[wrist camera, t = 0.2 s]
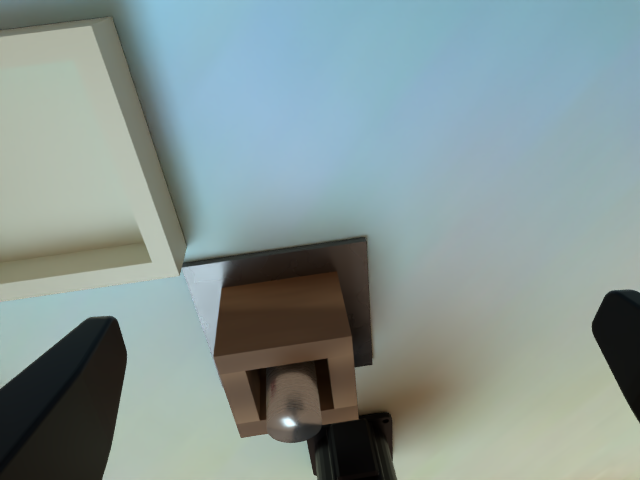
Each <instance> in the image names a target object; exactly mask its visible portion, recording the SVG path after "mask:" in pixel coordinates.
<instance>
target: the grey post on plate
mask: <svg viewBox="0 0 640 480" xmlns="http://www.w3.org/2000/svg"><path fill="white" fill-rule="evenodd" d="M182 271H183V274H184V277H185V279H186V282H187V285H188V288H189V291H190V294H191V297H192V300H193V303H194V305H195V308H196V311H197V314H198V317H199V320H200V323H201V326H202V329H203V332H204V334H205V337H206V340H207V343H208V346H209V349H210V352H211V355H212V358H213V354H214V346H215V338H216V329H217V321H218V313H219V305H220V296H221V288H225V287H232V286H239V285H246V284H253V283H260V282H267V281H274V280H280V279H287V278H294V277H301V276H308V275H315V274H322V273H329V272H335V271H337V274H338V278H339V282H340V287H341V291H342V295H343V300H344V304H345V308H346V313H347V317H348V322H349V326H350V330H351V335H352V344H353V356H354V367H360V366H367V365H372V347H371V326H370V305H369V284H368V263H367V243H366V239H365V237H363V238H356V239H349V240H342V241H335V242H328V243H321V244H314V245H307V246H300V247H293V248H286V249H279V250H272V251H265V252H258V253H251V254H244V255H237V256H230V257H223V258H216V259H209V260H202V261H195V262H188V263H183V264H182ZM213 360H214V358H213ZM214 363H215V361H214ZM215 366H216V364H215ZM216 369H217V367H216ZM217 372H218V370H217ZM218 375H219V373H218ZM219 378H220V376H219ZM220 381H221V378H220ZM221 384H222V381H221ZM222 387H223V384H222ZM266 415H267V432H268V434H269V435H270V436H271V437H272V438H274V439H275V440H278V441H281V442H286V443H295V442H301V441H305V440H308V439H310V438H312V437H313V436H315V435H316V434H317V433H318V432H319V431H320V429H321V427H322V418H321V410H320V402H319V394H318V386H317V378H316V370H315V362H314V360H313V361H306V362H300V363H293V364H287V365H280V366H273V367H267V368H266Z"/></svg>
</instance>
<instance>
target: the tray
mask: <svg viewBox="0 0 640 480" xmlns="http://www.w3.org/2000/svg"><path fill="white" fill-rule="evenodd" d="M186 249H187V246H186V242H185V239H184V236H183V233H182V230H181V227H180V224H179V221H178V218H177V215H176V212H175V209H174V206H173V203H172V200H171V196H170V193H169V190H168V187H167V184H166V181H165V178H164V175H163V172H162V169H161V166H160V163H159V160H158V157H157V153H156V150H155V147H154V144H153V141H152V138H151V135H150V132H149V129H148V126H147V123H146V120H145V117H144V114H143V111H142V107H141V104H140V101H139V98H138V95H137V92H136V89H135V86H134V83H133V80H132V77H131V74H130V71H129V68H128V64H127V61H126V58H125V55H124V52H123V49H122V46H121V43H120V40H119V37H118V34H117V31H116V28H115V25H114V22H113V18H112V16H111V17H103V18H95V19H87V20H79V21H70V22H62V23H54V24H46V25H38V26H30V27H22V28H13V29H5V30H0V302H3V301H10V300H17V299H24V298H30V297H37V296H44V295H51V294H58V293H65V292H72V291H79V290H86V289H93V288H100V287H107V286H114V285H121V284H128V283H135V282H142V281H148V280H155V279H162V278H169V277H176V276H180V272H181V268H182V264H183V260H184V256H185V253H186Z"/></svg>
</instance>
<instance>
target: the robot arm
mask: <svg viewBox="0 0 640 480" xmlns="http://www.w3.org/2000/svg"><path fill="white" fill-rule="evenodd" d="M592 332H593V335H594V337H595V339H596V341H597V343H598V345H599V347H600V349H601V351H602V353H603V355H604V357H605V359H606V361H607V363H608V365H609V367H610V369H611V371H612V373H613V375H614V377H615V379H616V381H617V383H618V385H619V387H620V389H621V391H622V393H623V395H624V397H625V399H626V400H627V402H628V404H629V406H630V408H631V410H632V411H633V413H634V415H635V416H636V418H637V420H638V421H639V423H640V293H639V292H637V291H634V290H614V291H610V292H609V293H607V294H606V295H605V297H604V299H603V301H602V303H601V305H600V307H599V309H598V311H597V313H596V315H595V318H594V320H593V322H592ZM126 364H127V351H126V347H125V344H124V340H123V337H122V334H121V330H120V327H119V324H118V321H117V319H116V318H115V317H113V316H100V317H90V318H88V319H86V320H85V321H83V322H82V323H81V324H80V325H78V326H77V327H76V328H75V329H74V330H72V331H71V332H70V333H69V334H67V335H66V336H65V337H64V338H62V339H61V340H60V341H59V342H58V343H56V344H55V345H54V346H53V347H51V348H50V349H49V350H48V351H46V352H45V353H44V354H43V355H42V356H40V357H39V358H38V359H37V360H35V361H34V362H33V363H32V364H30V365H29V366H28V367H27V368H26V369H24V370H23V371H22V372H21V373H19V374H18V375H17V376H16V377H14V378H13V379H12V380H11V381H10V382H8V383H7V384H6V385H5V386H3V387H2V388H1V389H0V480H102V478H103V474H104V471H105V468H106V464H107V461H108V457H109V453H110V450H111V445H112V440H113V435H114V430H115V425H116V419H117V414H118V408H119V403H120V397H121V391H122V386H123V380H124V375H125V369H126ZM307 444H308V449H309V454H310V459H311V464H312V469H313V474H314V475H316V476H317V480H397V477H396V473H395V470H394V466H393V462H392V461H393V449H392V418H391V415H390V414H389V413H379V414H372V415H366V416H359V419H358V420H351V421H345V422H339V423H332V424H326V425H322V427H321V429H320V431H319V432H318V433H317V434H316V435H315V436H313V437H312V438H310V439H308V440H307Z"/></svg>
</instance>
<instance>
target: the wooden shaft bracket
mask: <svg viewBox="0 0 640 480" xmlns="http://www.w3.org/2000/svg"><path fill="white" fill-rule="evenodd" d="M213 358H214V361H215V364H216V367H217V370H218V373H219V376H220V378H221V381H222V384H223V387H224V390H225V393H226V396H227V399H228V402H229V405H230V408H231V410H232V413H233V416H234V419H235V422H236V425H237V428H238V431H239V434H240V437H241V438H243V437H250V436H256V435H262V434H268V432H267V415H266V368H267V367H273V366H280V365H287V364H293V363H300V362H306V361H313V360H314V362H315V370H316V378H317V386H318V394H319V402H320V410H321V418H322V425H326V424H332V423H339V422H345V421H351V420H358V419H359V417H358V405H357V393H356V380H355V368H354V356H353V344H352V335H351V330H350V326H349V322H348V317H347V313H346V308H345V304H344V300H343V295H342V291H341V287H340V282H339V278H338V274H337V271H335V272H329V273H322V274H315V275H308V276H301V277H294V278H287V279H280V280H274V281H267V282H260V283H253V284H246V285H239V286H232V287H225V288H221V296H220V305H219V313H218V321H217V329H216V338H215V346H214V354H213Z"/></svg>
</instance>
